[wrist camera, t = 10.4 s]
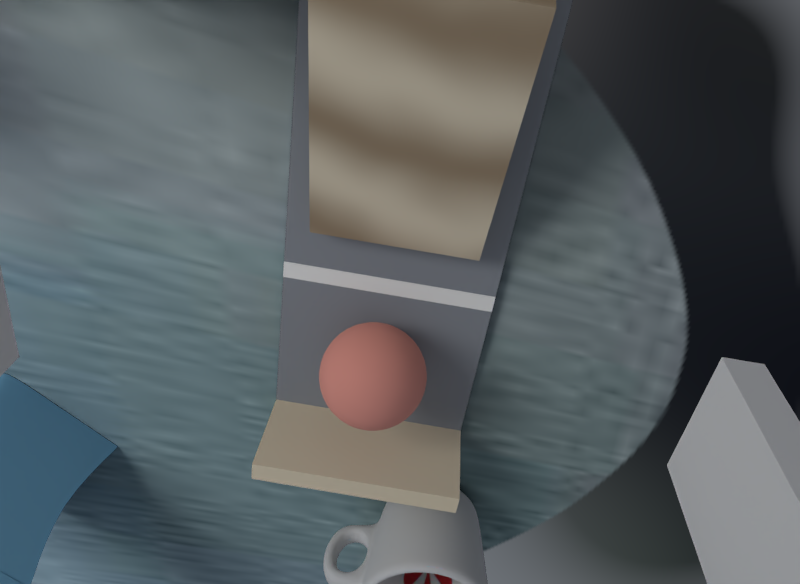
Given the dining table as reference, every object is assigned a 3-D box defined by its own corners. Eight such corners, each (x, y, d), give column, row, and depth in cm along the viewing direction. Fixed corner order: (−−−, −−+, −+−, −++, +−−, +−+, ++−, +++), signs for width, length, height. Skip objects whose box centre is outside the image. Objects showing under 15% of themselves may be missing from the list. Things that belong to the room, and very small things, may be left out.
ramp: (339, -66, 29) (309, -54, 23) (543, -31, 29) (561, -11, 23) (315, 219, 36) (288, 278, 31) (478, 246, 36) (480, 310, 31)
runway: (308, -125, 28) (272, -127, 23) (591, -77, 28) (619, -69, 23) (277, 409, 44) (251, 478, 39) (457, 439, 44) (455, 513, 39)
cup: (341, 538, 50) (321, 641, 43) (331, 462, 46) (307, 563, 39) (486, 545, 49) (488, 651, 42) (489, 467, 45) (492, 572, 38)
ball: (332, 292, 37) (308, 384, 33) (439, 310, 37) (427, 404, 33) (329, 352, 41) (308, 440, 37) (424, 369, 41) (413, 457, 37)
